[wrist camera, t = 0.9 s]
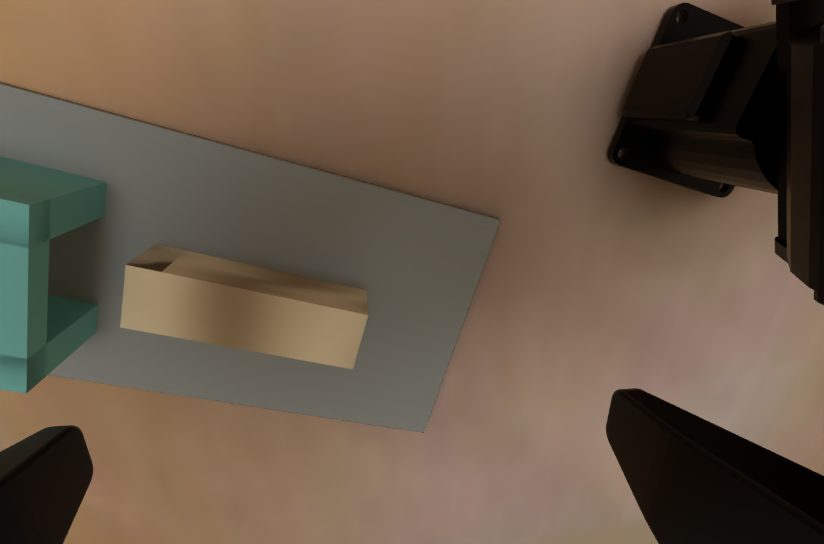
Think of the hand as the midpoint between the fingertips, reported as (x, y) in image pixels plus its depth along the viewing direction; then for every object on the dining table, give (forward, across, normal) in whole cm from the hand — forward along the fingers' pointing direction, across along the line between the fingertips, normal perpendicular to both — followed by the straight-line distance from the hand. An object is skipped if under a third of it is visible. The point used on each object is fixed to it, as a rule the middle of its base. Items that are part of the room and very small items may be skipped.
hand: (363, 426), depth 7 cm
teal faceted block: (+12, +13, 0) cm, 18 cm away
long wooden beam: (+12, +5, +3) cm, 14 cm away
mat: (+13, +5, +3) cm, 14 cm away
